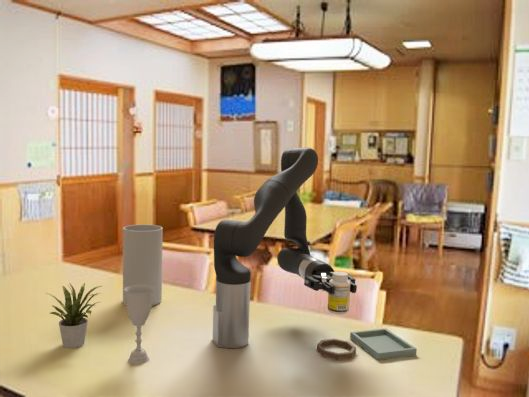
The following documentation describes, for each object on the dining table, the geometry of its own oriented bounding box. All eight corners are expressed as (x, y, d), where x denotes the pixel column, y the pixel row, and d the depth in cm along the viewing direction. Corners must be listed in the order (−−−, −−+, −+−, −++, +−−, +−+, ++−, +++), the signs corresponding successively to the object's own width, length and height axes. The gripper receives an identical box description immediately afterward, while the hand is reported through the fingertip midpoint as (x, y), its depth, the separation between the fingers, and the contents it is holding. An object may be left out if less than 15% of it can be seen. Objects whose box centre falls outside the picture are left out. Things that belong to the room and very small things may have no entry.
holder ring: (327, 361, 124) (328, 355, 124) (311, 346, 133) (312, 340, 133) (361, 357, 127) (361, 351, 127) (343, 342, 136) (343, 337, 136)
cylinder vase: (169, 300, 166) (170, 227, 163) (141, 310, 156) (142, 232, 153) (143, 293, 173) (143, 223, 170) (114, 302, 162) (114, 227, 159)
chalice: (145, 367, 117) (145, 294, 115) (118, 364, 118) (118, 291, 116) (157, 355, 124) (158, 285, 122) (132, 351, 126) (133, 283, 123)
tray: (377, 360, 126) (378, 353, 126) (350, 338, 140) (350, 332, 140) (416, 355, 130) (416, 348, 130) (385, 334, 144) (385, 328, 143)
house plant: (118, 339, 133) (118, 280, 131) (83, 359, 120) (83, 294, 118) (74, 330, 138) (74, 273, 136) (37, 349, 125) (36, 287, 123)
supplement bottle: (334, 306, 133) (336, 269, 132) (352, 311, 129) (355, 273, 128) (323, 311, 129) (325, 273, 127) (341, 316, 125) (344, 277, 124)
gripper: (293, 260, 139) (319, 277, 123) (339, 258, 144) (369, 274, 128) (292, 286, 140) (317, 306, 124) (337, 284, 144) (367, 302, 129)
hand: (344, 290), depth 126 cm, fingers closed on supplement bottle, 5 cm apart
